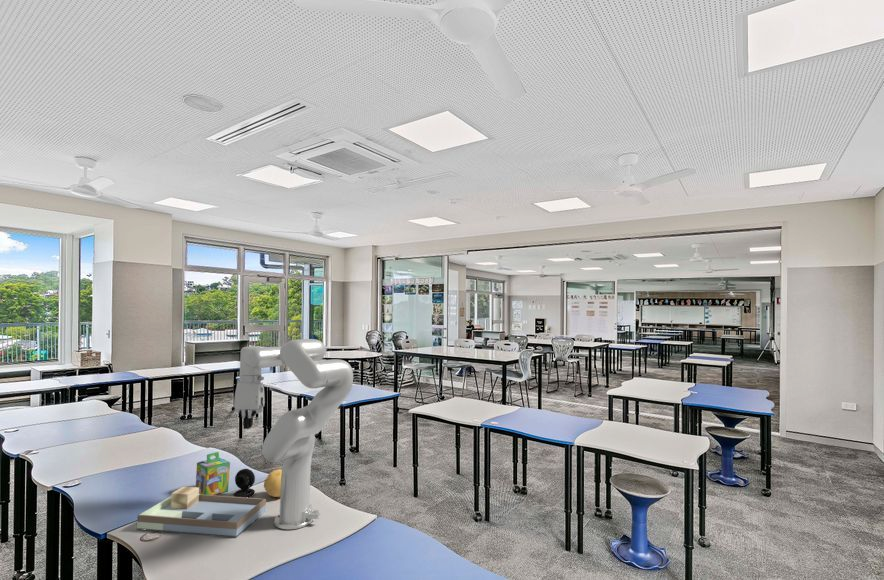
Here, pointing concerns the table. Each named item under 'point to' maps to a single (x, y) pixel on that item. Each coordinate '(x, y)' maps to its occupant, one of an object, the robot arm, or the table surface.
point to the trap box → (204, 516)
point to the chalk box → (212, 475)
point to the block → (184, 497)
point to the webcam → (244, 483)
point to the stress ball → (273, 483)
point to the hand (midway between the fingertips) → (247, 427)
